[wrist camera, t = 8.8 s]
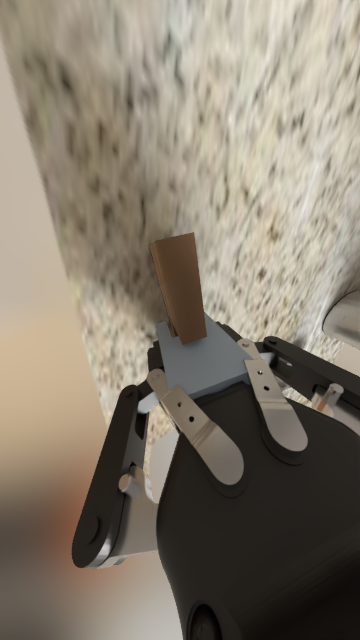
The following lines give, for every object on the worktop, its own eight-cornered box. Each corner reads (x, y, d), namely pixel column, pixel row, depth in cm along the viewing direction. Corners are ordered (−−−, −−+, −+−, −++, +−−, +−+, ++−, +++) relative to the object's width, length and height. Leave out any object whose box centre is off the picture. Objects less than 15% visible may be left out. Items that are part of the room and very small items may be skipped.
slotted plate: (169, 240, 13) (193, 232, 7) (195, 367, 22) (216, 411, 16) (149, 245, 13) (156, 240, 7) (183, 371, 22) (200, 418, 16)
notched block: (202, 309, 16) (261, 366, 8) (204, 330, 17) (257, 395, 10) (155, 323, 15) (171, 401, 7) (162, 344, 17) (181, 426, 9)
